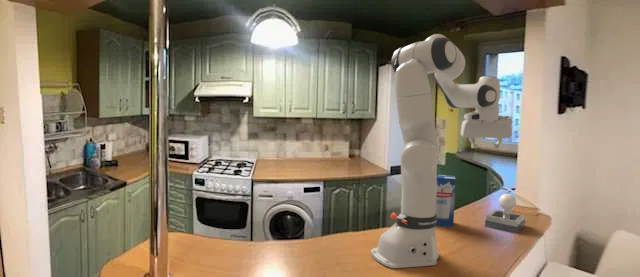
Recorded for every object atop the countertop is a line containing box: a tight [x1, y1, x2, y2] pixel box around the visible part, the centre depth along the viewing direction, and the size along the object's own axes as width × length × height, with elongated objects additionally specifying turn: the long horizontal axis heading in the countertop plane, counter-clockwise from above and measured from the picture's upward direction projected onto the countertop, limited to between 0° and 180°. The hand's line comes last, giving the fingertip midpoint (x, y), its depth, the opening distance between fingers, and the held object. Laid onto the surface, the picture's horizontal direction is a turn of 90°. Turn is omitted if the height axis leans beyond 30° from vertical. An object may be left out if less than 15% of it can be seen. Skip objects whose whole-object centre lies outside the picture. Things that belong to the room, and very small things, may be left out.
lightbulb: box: [498, 193, 517, 219], centre depth 153 cm, size 6×6×11 cm
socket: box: [484, 209, 526, 234], centre depth 154 cm, size 12×12×4 cm
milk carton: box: [436, 174, 457, 228], centre depth 156 cm, size 10×6×20 cm, turn 76°
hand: (485, 148), depth 159 cm, fingers open, 8 cm apart
